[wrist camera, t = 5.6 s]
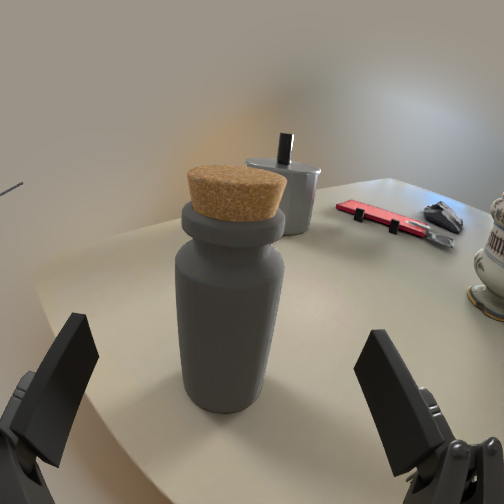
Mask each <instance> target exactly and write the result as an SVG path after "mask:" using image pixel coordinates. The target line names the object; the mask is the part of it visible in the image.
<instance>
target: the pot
mask: <svg viewBox="0 0 504 504" xmlns="http://www.w3.org/2000/svg"><path fill="white" fill-rule="evenodd" d="M247 167H251V168H257V167H253V166H250V165H248V164H247ZM257 169H261V168H257ZM263 170H266V169H263ZM267 171H271V170H267ZM271 172H274V173H277V174H279V175H282V176H283V177H285V178H286V180H287V184H286V186H285V189H284V192H283V195H282V198H281V200H280V203H279V206H278V208H279V209H280V210H281V211H282V212H283V213H284V215H285V226H284V232H283V235H295V234H301V233H304V232H306V231H307V230H308V228H309V225H310V220H311V214H312V208H313V203H314V197H315V191H316V184H317V178H318V174H314V175H306V174H293V173H285V172H278V171H271Z"/></svg>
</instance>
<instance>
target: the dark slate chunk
mask: <svg viewBox="0 0 504 504" xmlns="http://www.w3.org/2000/svg"><path fill="white" fill-rule="evenodd" d="M423 213H424V216H425V217H426V219H427V220H429V221H431V222H434V223H436V224H438V225H440V226H443V227H444V228H447V229H448V230H450V231H452V232H455V233H460V232H461V230H462V226H463V221H462V219H461V218H459V217H458V216H457V215H456V214H455V212H454V211H453V210H452V209H451V208H449V207H448V206H447V205H446V204H444V203H443V202H441V201H440V202H439V203H437V204H435V205H432V206H426V207H425V209H424V212H423Z"/></svg>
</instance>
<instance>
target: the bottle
mask: <svg viewBox="0 0 504 504" xmlns="http://www.w3.org/2000/svg"><path fill="white" fill-rule="evenodd" d="M187 177H188V183H189V189H190V195H191V201H190V202H189V203H187V204H186V205H185V206H184V207H183V209H182V228H183V230H184V231H185V232H186V233H187V234H188V235H189V236H191V237H192V238H193V239H192V240H190V241H189V242H187V243H186V244H184V245H183V246H182V247H181V249H180V250H179V251H178V253H177V255H176V258H175V285H176V306H177V321H178V335H179V346H180V357H181V366H182V374H183V382H184V387H185V390H186V392H187V394H188V396H189V397H190V398H191V400H192V401H193V402H195V403H196V404H197V405H199V406H200V407H202V408H204V409H206V410H209V411H212V412H217V413H232V412H236V411H240V410H242V409H244V408H246V407H248V406H249V405H251V404H252V403H253V402H254V401H255V400H256V399H257V397H258V395H259V393H260V391H261V387H262V384H263V379H264V375H265V370H266V365H267V361H268V356H269V351H270V346H271V341H272V336H273V332H274V326H275V321H276V316H277V311H278V305H279V300H280V294H281V288H282V283H283V276H284V268H285V266H284V261H283V258H282V257H281V255H280V254H279V253H278V251H277V250H276V249H275V248H273V247H272V246H271V245H270V244H271V243H273V242H275V241H277V240H278V239H280V238H281V236H282V235H283V232H284V226H285V215H284V213H283V212H282V211H281V210H280V209H279V208H278V206H279V203H280V200H281V198H282V195H283V192H284V189H285V186H286V184H287V180H286V178H285V177H283V176H282V175H279V174H277V173H274V172H271V171H267V170H263V169H257V168H251V167H242V166H228V165H214V166H202V167H197V168H193V169H191V170H189V171H188V173H187Z"/></svg>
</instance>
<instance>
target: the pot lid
mask: <svg viewBox="0 0 504 504" xmlns="http://www.w3.org/2000/svg"><path fill="white" fill-rule="evenodd" d="M293 138H294V135H293V134H287V133H280V138H279V147H278V155H277V159H271V158H249V159H246V164H248V165H250V166H253V167H257V168H261V169H266V170H271V171H278V172H285V173H293V174H306V175H314V174H319V173H320V169H319V168H317V167H314V166H311V165H308V164H304V163H299V162H294V161H291V153H292V145H293Z"/></svg>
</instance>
